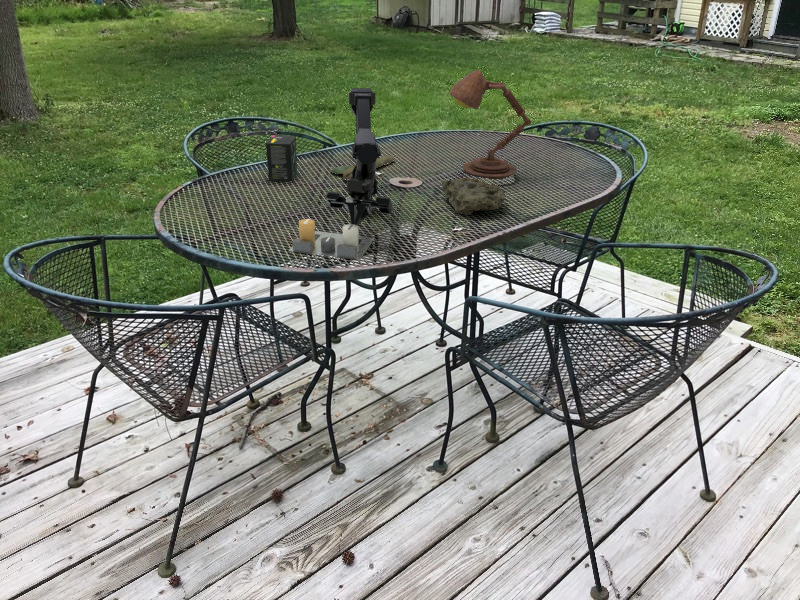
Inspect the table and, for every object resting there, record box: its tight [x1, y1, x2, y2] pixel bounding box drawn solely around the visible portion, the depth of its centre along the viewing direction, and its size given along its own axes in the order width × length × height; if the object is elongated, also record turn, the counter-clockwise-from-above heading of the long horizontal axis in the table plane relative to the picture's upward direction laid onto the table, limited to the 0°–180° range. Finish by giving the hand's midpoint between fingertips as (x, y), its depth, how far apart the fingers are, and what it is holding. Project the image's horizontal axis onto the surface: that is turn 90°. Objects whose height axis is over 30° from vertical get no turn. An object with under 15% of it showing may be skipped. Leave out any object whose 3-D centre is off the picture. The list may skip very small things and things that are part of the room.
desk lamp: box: [449, 69, 532, 179], centre depth 242 cm, size 21×32×40 cm, turn 100°
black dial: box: [321, 237, 335, 252], centre depth 184 cm, size 4×4×3 cm
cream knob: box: [342, 223, 359, 252], centre depth 182 cm, size 4×4×7 cm
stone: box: [441, 177, 506, 215], centre depth 221 cm, size 25×19×8 cm
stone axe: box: [330, 155, 395, 180], centre depth 254 cm, size 26×5×30 cm
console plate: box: [288, 230, 375, 260], centre depth 187 cm, size 16×21×4 cm
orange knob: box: [298, 218, 316, 247], centre depth 185 cm, size 4×4×7 cm
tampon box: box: [265, 135, 298, 183], centre depth 242 cm, size 11×9×15 cm
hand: (353, 229), depth 183 cm, fingers closed, pressing on cream knob
